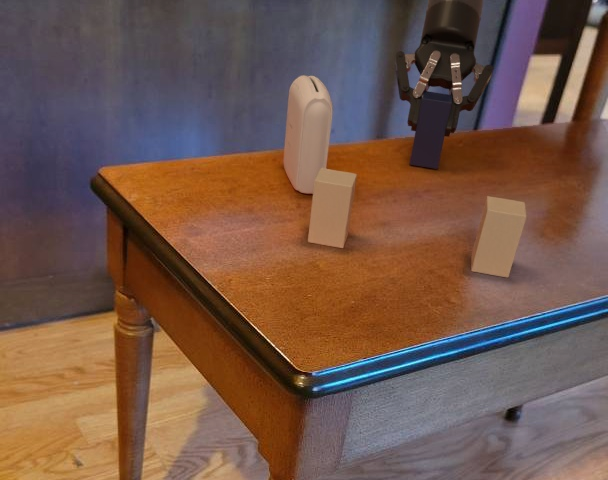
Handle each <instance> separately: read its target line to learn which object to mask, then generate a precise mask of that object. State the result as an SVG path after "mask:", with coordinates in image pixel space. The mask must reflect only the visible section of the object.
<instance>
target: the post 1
mask: <svg viewBox="0 0 608 480" xmlns="http://www.w3.org/2000/svg"><path fill="white" fill-rule="evenodd" d="M357 178H358V174H357V173H355V172H349V171H342V170H335V169H331V168H326V169H325V168H321V169H320V171H319V173H318V175H317V177H316V179H315V181H314V190H313V194H312V199H311V208H310V216H309V217H310V218H309V227H308V233H307V234H308V235H307V243H311V244H316V245H322V246H327V247H333V248H338V249H344V247H345V245H346V243H347V242H346V241H347V239H348V236H349V231H350V226H351V225H350V224H351V218H352V212H353V204H354V199H355V198H354V197H355V191H356V183H357Z"/></svg>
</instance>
